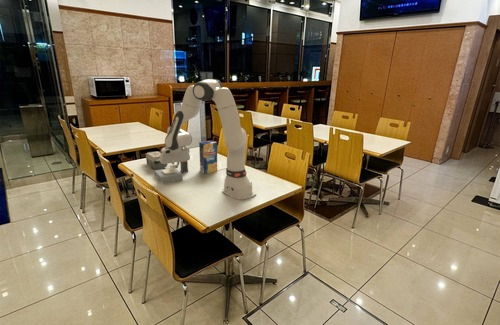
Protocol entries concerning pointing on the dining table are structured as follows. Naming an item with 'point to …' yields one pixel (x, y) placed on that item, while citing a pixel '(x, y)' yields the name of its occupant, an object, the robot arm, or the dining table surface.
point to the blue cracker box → (208, 156)
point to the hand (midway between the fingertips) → (175, 167)
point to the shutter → (169, 170)
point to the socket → (168, 176)
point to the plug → (184, 166)
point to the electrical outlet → (155, 160)
